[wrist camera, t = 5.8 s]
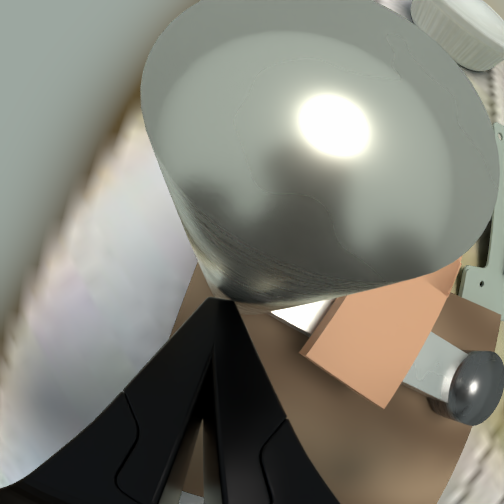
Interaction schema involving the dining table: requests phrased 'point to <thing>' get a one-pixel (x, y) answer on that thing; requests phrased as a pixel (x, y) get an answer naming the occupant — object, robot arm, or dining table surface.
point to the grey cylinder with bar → (325, 165)
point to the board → (358, 411)
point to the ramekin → (463, 30)
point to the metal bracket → (490, 253)
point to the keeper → (379, 333)
